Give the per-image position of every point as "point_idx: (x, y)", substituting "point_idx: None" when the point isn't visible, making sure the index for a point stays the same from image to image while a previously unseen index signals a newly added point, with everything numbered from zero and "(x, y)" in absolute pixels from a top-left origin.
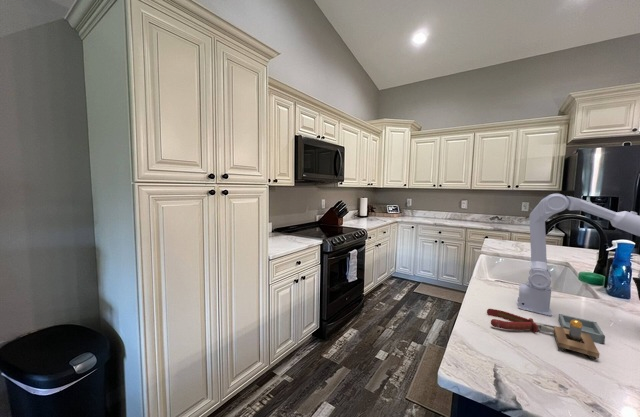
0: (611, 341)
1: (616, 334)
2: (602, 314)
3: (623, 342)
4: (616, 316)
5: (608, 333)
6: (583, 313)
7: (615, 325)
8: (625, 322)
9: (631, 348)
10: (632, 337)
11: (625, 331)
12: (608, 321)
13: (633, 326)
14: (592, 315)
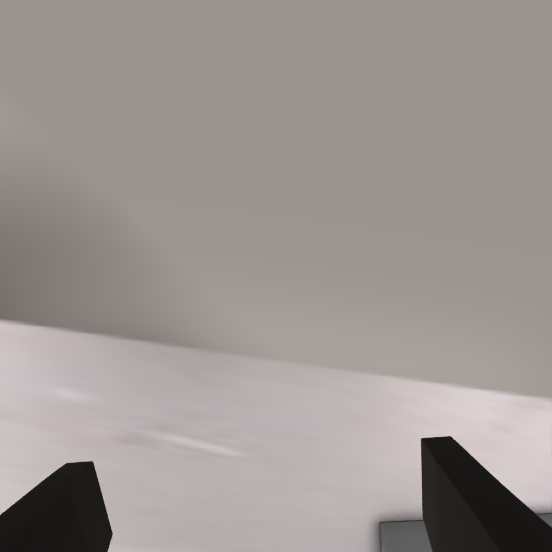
0: (510, 478)
1: (371, 443)
2: (45, 464)
3: (479, 430)
4: (4, 400)
5: (389, 475)
6: (133, 546)
7: (205, 428)
8: (84, 372)
9: (546, 410)
10: (352, 379)
11: (272, 396)
12: (161, 451)
13: (125, 343)
14: (125, 511)
